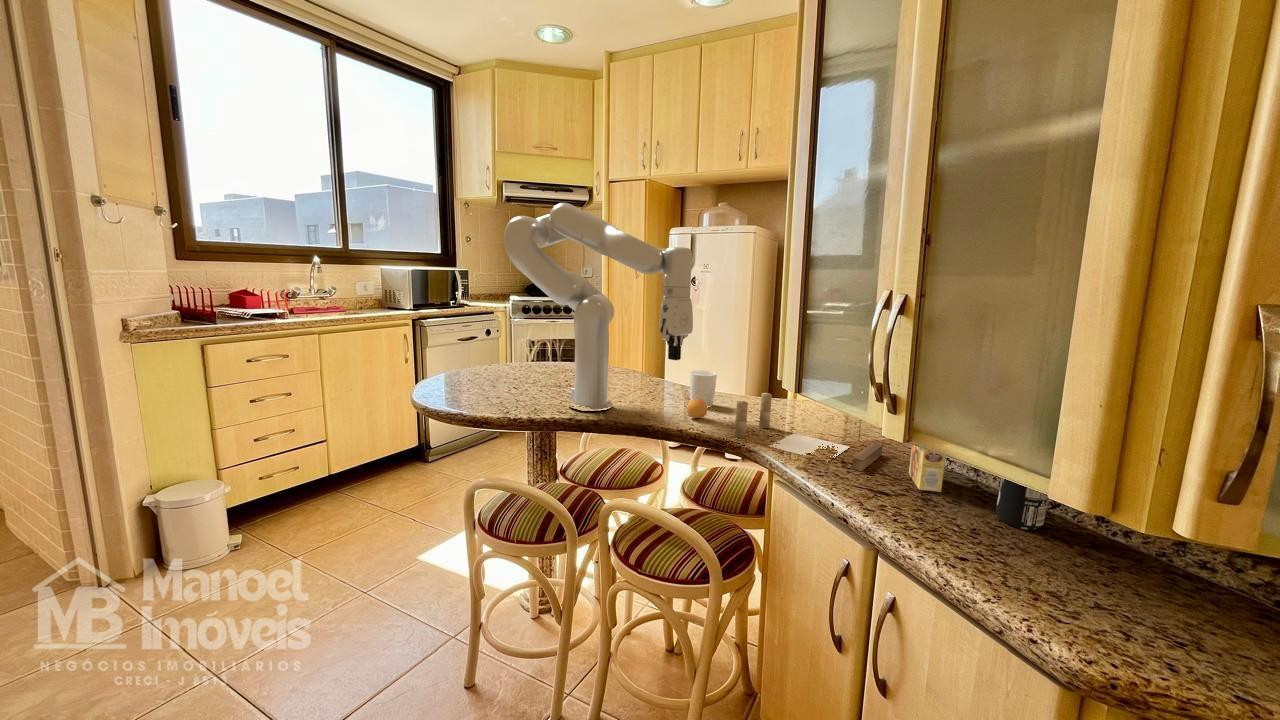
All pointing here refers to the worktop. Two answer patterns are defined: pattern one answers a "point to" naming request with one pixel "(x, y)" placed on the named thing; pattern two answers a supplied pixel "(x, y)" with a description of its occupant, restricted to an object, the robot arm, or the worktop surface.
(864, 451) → the stopper wall
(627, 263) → the robot arm
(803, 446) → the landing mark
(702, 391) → the white cup
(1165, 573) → the worktop surface
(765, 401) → the post
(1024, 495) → the beverage can
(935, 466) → the candy box
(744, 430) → the post
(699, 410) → the ball
